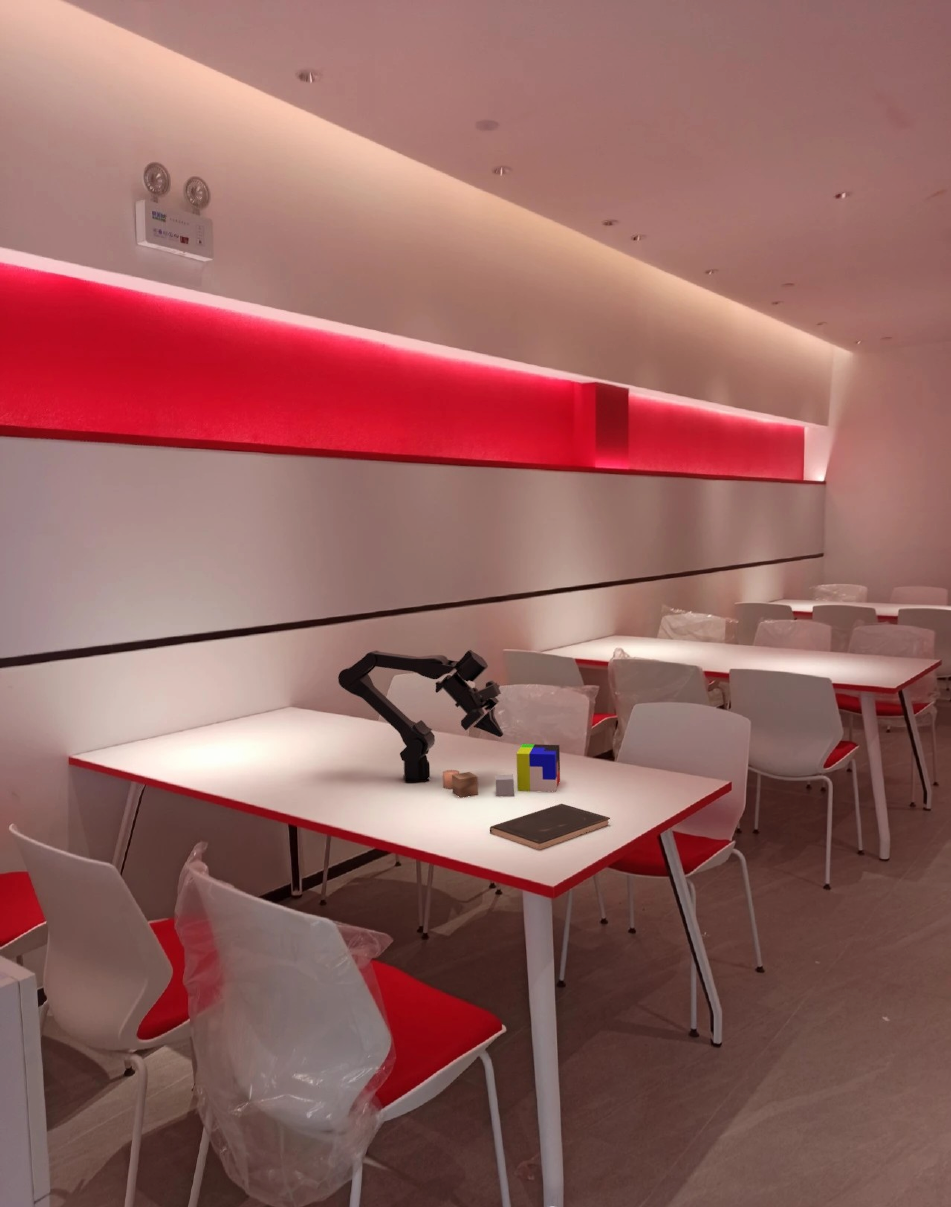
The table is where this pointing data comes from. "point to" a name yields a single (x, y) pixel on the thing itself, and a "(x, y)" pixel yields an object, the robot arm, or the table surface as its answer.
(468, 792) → the walnut block
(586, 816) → the hardcover book
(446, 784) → the terracotta cylinder
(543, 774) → the puzzle toy
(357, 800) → the table surface
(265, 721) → the table surface
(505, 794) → the slate block
